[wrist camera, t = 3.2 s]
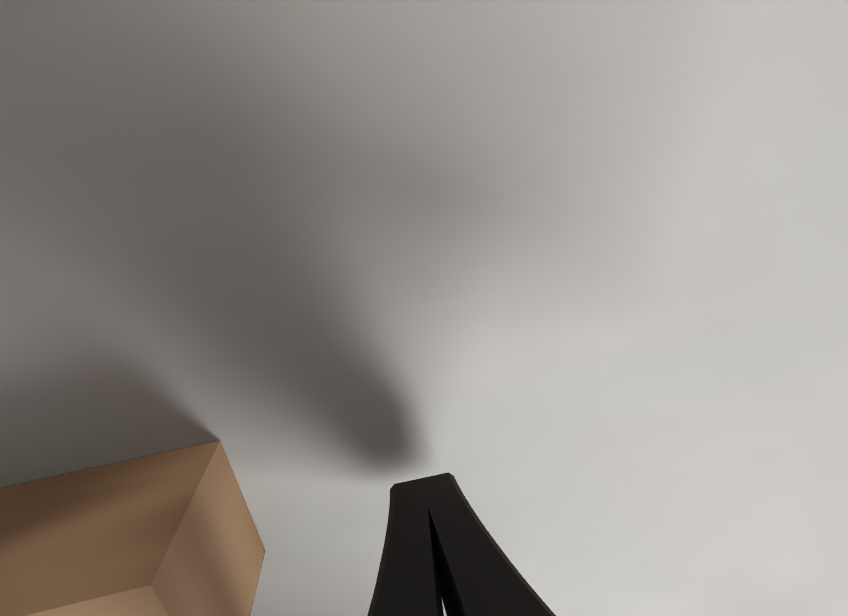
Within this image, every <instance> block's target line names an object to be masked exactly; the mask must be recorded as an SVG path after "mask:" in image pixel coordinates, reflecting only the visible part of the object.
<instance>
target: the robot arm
mask: <svg viewBox="0 0 848 616" xmlns="http://www.w3.org/2000/svg"><path fill="white" fill-rule="evenodd" d="M441 596H442V597H441ZM442 600H443V603H444V607H445V611H446V614H447V616H556V615H555V614H554V613H553V612H552V611H551V610H550V609H549V607H548V606H547V605H546V604H545V603H544V602H543V601H542V599H541V598H540V597H539V596H538V595H537V593H536V592H535V591H534V590H533V589H532V587H531V586H530V585H529V584H528V583H527V582H526V580H525V579H524V578H523V577H522V575H521V574H520V573H519V572H518V570H517V569H516V568H515V567H514V565H513V564H512V563H511V562H510V560H509V559H508V558H507V556H506V555H505V554H504V552H503V551H502V550H501V548H500V547H499V546H498V544H497V543H496V542H495V540H494V539H493V538H492V537H491V535H490V534H489V532H488V531H487V530H486V528H485V527H484V525H483V524H482V522H481V521H480V520H479V518H478V516H477V515H476V513H475V512H474V510H473V509H472V507H471V506H470V504H469V503H468V501H467V499H466V498H465V496H464V494H463V493H462V491H461V489H460V487H459V486H458V484H457V482H456V480H455V478H454V476H453V475H451V474H450V473H444V474H439V475H435V476H430V477H425V478H421V479H416V480H411V481H407V482H402V483H397V484H394V485H393V486H392V488H391V489H390V507H389V517H388V524H387V531H386V537H385V543H384V548H383V553H382V558H381V562H380V567H379V572H378V577H377V581H376V586H375V590H374V594H373V598H372V601H371V605H370V609H369V612H368V616H444V614H443V606H442Z"/></svg>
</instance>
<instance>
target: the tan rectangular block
mask: <svg viewBox="0 0 848 616" xmlns="http://www.w3.org/2000/svg"><path fill="white" fill-rule="evenodd" d="M264 554H265V549H264V546H263V544H262V541H261V539H260V536H259V534H258V532H257V529H256V527H255V524H254V522H253V519H252V517H251V514H250V512H249V510H248V507H247V505H246V502H245V500H244V497H243V495H242V492H241V490H240V488H239V485H238V483H237V480H236V478H235V475H234V473H233V470H232V468H231V465H230V463H229V461H228V458H227V456H226V453H225V451H224V448H223V446H222V443H221V441H220V440H219V441H215V442H210V443H205V444H201V445H196V446H192V447H187V448H182V449H178V450H173V451H168V452H164V453H159V454H155V455H150V456H145V457H141V458H136V459H132V460H127V461H122V462H118V463H113V464H108V465H104V466H99V467H95V468H90V469H85V470H81V471H76V472H72V473H67V474H62V475H58V476H53V477H48V478H44V479H39V480H35V481H30V482H25V483H21V484H16V485H12V486H7V487H2V488H0V616H250V614H251V610H252V606H253V601H254V597H255V593H256V588H257V584H258V580H259V575H260V571H261V567H262V562H263V558H264Z"/></svg>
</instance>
